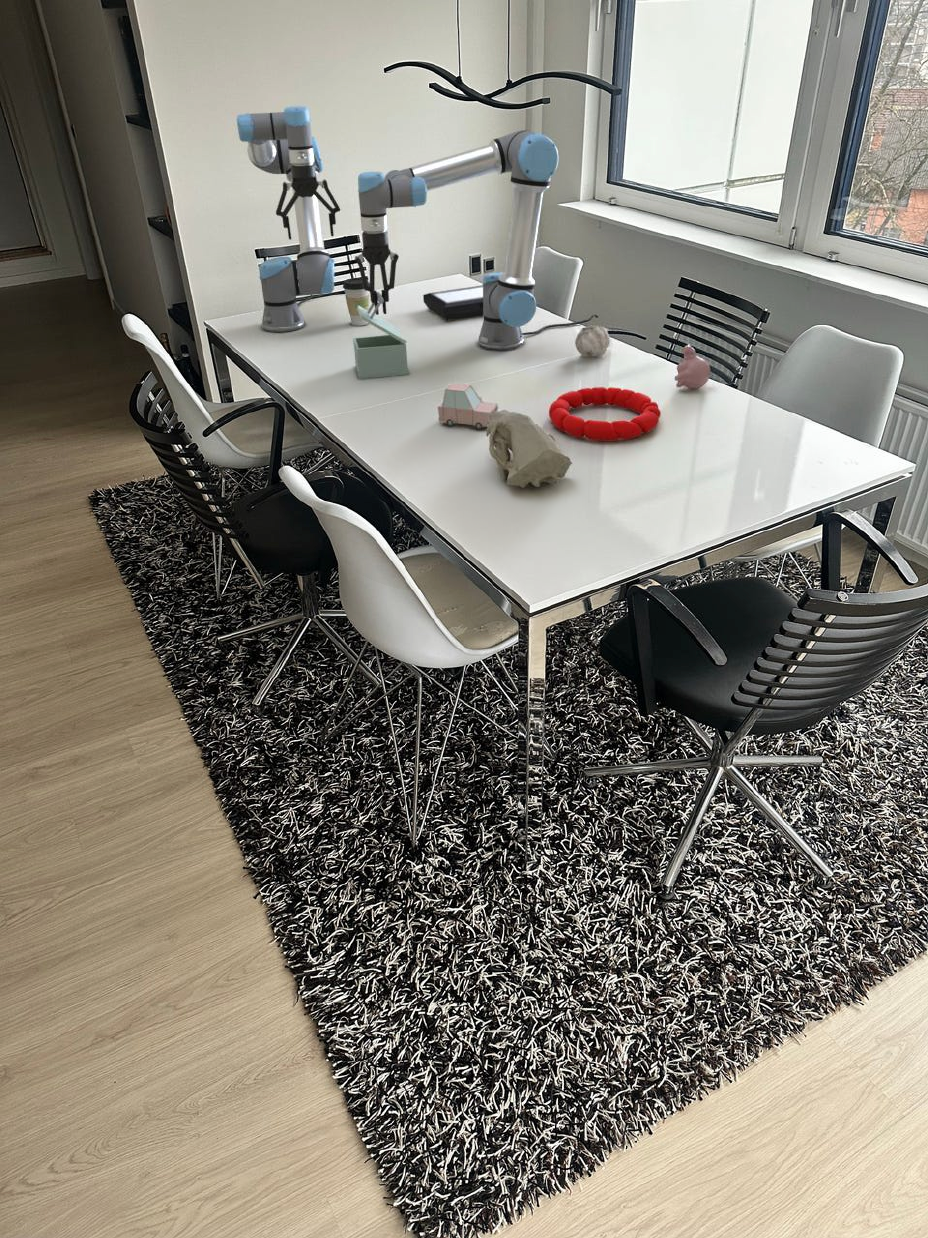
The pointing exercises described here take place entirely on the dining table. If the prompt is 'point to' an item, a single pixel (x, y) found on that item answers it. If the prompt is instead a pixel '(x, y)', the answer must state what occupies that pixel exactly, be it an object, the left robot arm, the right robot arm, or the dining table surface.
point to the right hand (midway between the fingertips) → (380, 312)
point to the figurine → (692, 370)
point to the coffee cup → (356, 299)
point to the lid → (380, 320)
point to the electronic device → (456, 303)
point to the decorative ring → (604, 428)
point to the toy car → (465, 406)
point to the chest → (380, 356)
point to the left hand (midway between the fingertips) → (311, 237)
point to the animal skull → (525, 450)
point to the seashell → (592, 340)
